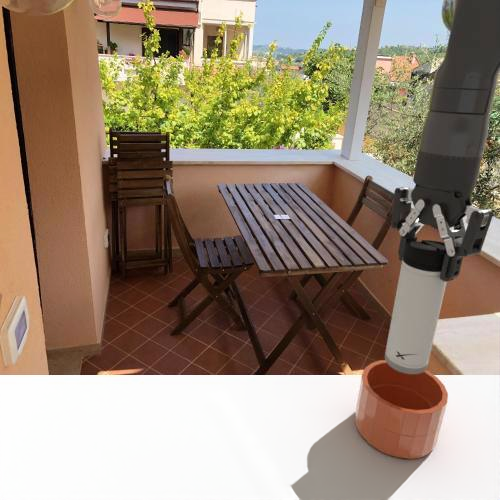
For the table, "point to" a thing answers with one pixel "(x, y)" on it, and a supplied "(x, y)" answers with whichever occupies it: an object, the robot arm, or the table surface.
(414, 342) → the travel mug
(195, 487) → the table surface
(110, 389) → the table surface
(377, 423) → the planter
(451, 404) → the table surface
